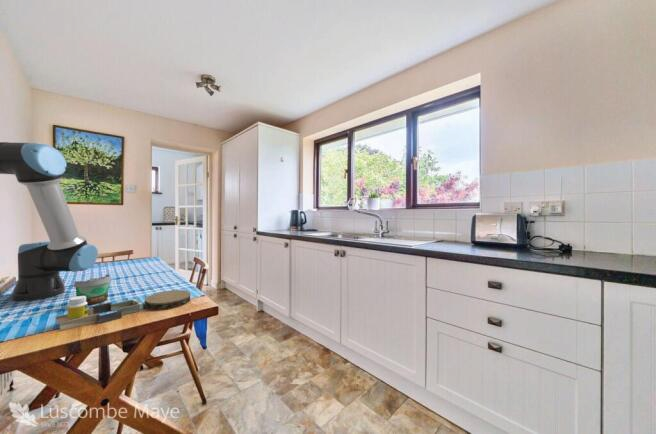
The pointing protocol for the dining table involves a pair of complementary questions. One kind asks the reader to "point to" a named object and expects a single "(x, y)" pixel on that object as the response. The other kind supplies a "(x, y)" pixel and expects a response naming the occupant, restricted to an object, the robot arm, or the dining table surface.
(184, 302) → the brown round disc
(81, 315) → the supplement bottle
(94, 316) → the trap box
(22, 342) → the dining table surface
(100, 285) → the food container
